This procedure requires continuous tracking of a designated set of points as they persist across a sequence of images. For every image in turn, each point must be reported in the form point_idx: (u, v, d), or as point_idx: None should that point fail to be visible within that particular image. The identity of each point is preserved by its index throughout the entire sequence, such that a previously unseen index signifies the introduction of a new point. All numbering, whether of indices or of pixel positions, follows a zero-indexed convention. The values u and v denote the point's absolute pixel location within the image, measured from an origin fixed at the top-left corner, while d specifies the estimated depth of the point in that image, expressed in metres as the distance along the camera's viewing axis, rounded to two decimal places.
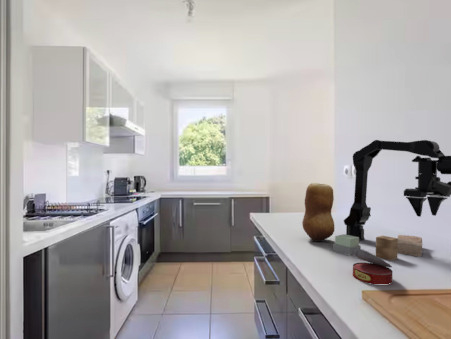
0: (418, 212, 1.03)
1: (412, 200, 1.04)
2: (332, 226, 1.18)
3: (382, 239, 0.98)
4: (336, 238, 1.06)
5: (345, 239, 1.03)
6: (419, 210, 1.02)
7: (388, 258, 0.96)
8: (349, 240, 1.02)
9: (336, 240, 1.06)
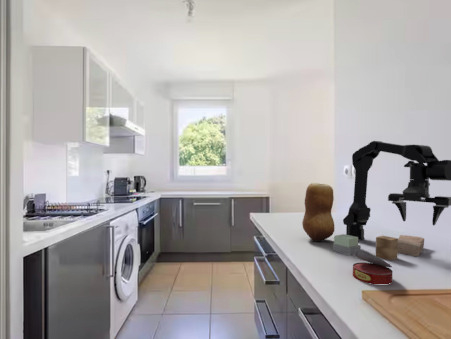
0: None
1: None
2: (332, 226, 1.18)
3: (382, 239, 0.98)
4: (335, 238, 1.06)
5: (344, 239, 1.03)
6: None
7: (388, 258, 0.96)
8: (348, 240, 1.02)
9: (335, 240, 1.06)
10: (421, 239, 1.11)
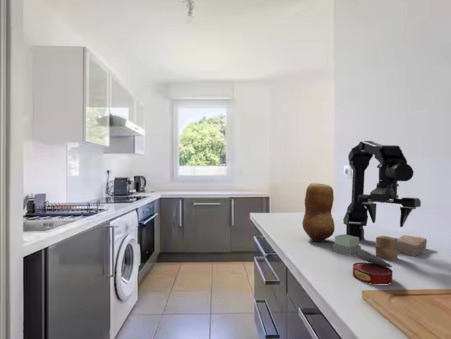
0: None
1: None
2: (332, 226, 1.18)
3: (382, 239, 0.98)
4: (336, 238, 1.06)
5: (345, 239, 1.03)
6: None
7: (388, 258, 0.96)
8: (348, 240, 1.02)
9: (336, 240, 1.06)
10: (422, 239, 1.11)
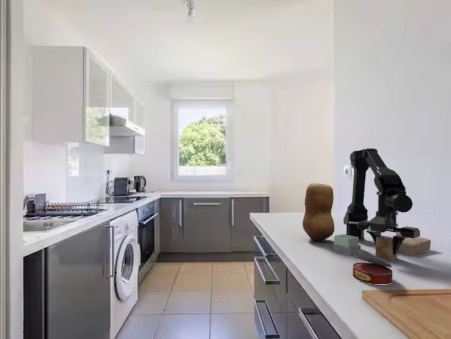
0: None
1: None
2: (332, 226, 1.18)
3: (382, 239, 0.98)
4: (335, 238, 1.06)
5: (343, 239, 1.03)
6: None
7: (388, 258, 0.96)
8: (347, 240, 1.02)
9: (335, 240, 1.06)
10: (424, 240, 1.10)
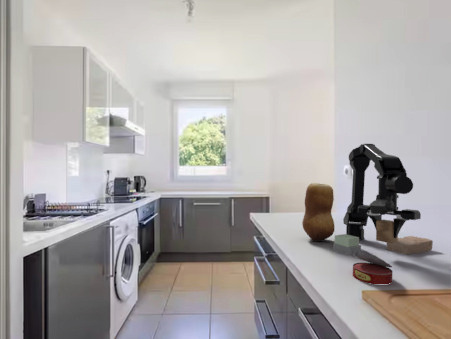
0: None
1: None
2: (332, 226, 1.18)
3: (382, 222, 0.98)
4: (335, 237, 1.07)
5: (344, 239, 1.04)
6: None
7: (388, 241, 0.96)
8: (347, 240, 1.02)
9: (336, 240, 1.06)
10: (425, 240, 1.09)
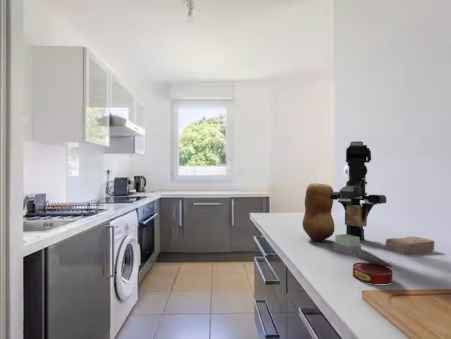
0: None
1: None
2: (332, 226, 1.18)
3: (352, 207, 1.03)
4: (336, 237, 1.07)
5: (345, 239, 1.04)
6: None
7: (357, 224, 1.01)
8: (348, 240, 1.02)
9: (337, 240, 1.06)
10: (426, 241, 1.08)
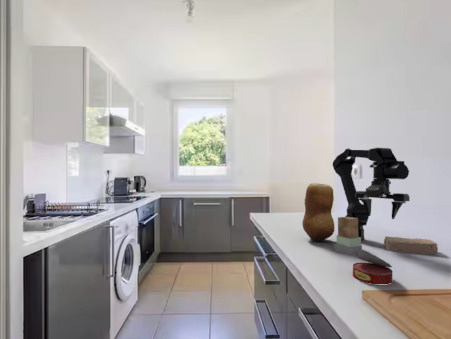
0: None
1: None
2: (332, 226, 1.18)
3: (342, 219, 1.05)
4: (337, 237, 1.07)
5: (345, 239, 1.04)
6: None
7: (347, 236, 1.03)
8: (348, 240, 1.03)
9: (338, 240, 1.07)
10: (425, 243, 1.05)
